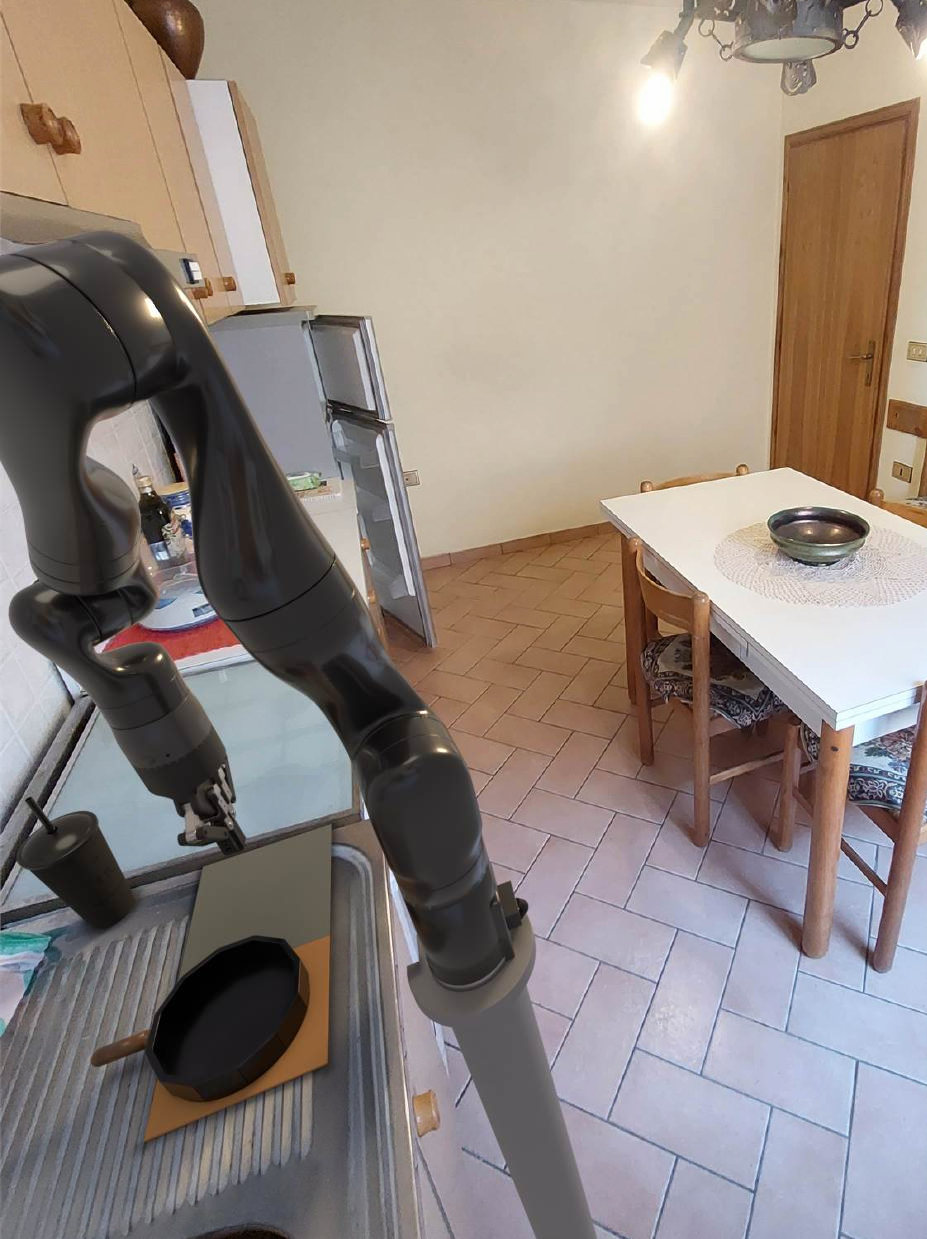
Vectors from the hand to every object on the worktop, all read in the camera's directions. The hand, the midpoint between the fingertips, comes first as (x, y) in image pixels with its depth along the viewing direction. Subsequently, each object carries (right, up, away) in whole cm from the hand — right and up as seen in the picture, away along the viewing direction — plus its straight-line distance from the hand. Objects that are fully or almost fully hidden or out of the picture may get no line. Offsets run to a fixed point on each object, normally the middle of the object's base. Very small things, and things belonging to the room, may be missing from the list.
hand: (236, 847), depth 76 cm
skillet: (+2, -16, -8) cm, 18 cm away
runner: (+3, -12, 0) cm, 12 cm away
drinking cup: (-19, -11, +6) cm, 23 cm away
